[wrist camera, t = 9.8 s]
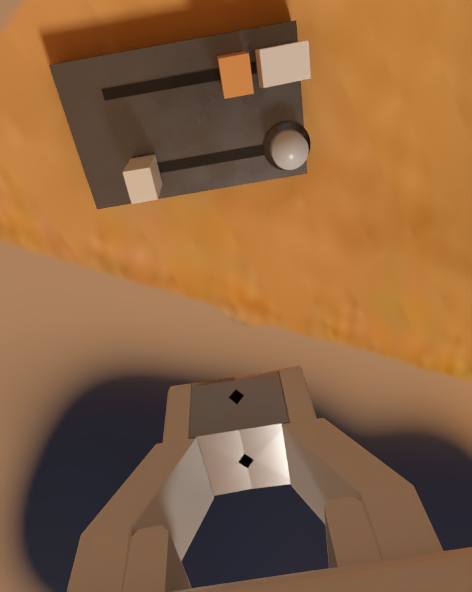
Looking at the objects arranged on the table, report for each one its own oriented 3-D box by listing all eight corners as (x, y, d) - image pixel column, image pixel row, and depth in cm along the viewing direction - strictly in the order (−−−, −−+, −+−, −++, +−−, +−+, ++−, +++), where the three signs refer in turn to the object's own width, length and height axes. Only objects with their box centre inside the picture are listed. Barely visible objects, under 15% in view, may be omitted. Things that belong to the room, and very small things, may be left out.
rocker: (302, 40, 31) (308, 40, 31) (305, 77, 33) (310, 78, 32) (254, 49, 31) (259, 49, 30) (259, 87, 32) (263, 88, 31)
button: (302, 125, 35) (307, 129, 33) (305, 161, 36) (309, 166, 35) (267, 131, 35) (270, 136, 33) (271, 166, 36) (274, 172, 35)
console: (296, 20, 33) (303, 19, 31) (307, 166, 39) (313, 174, 36) (57, 63, 34) (46, 65, 31) (101, 201, 39) (95, 211, 37)
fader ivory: (155, 154, 35) (149, 167, 32) (162, 183, 36) (157, 199, 33) (130, 158, 35) (122, 172, 32) (138, 187, 36) (131, 204, 33)
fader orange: (244, 51, 32) (248, 53, 28) (248, 87, 33) (253, 93, 30) (216, 56, 32) (218, 58, 28) (222, 92, 33) (224, 98, 30)
